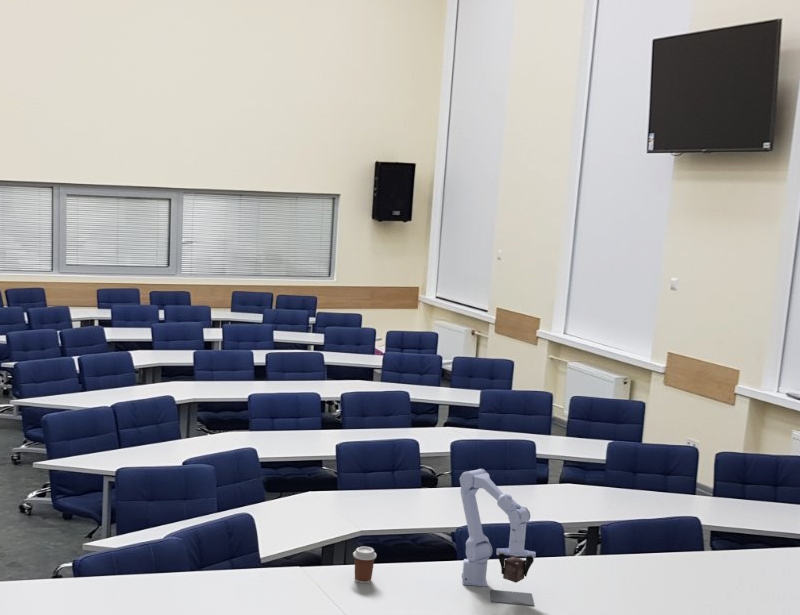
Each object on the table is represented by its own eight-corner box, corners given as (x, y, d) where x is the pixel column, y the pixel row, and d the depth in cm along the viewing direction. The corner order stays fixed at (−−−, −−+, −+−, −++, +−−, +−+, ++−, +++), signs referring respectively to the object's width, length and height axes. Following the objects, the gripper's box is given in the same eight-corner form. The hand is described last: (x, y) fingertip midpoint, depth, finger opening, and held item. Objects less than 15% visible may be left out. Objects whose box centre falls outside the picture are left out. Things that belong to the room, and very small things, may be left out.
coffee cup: (353, 584, 365) (356, 554, 364) (348, 575, 374) (351, 545, 373) (377, 584, 368) (379, 553, 367) (371, 574, 377) (373, 545, 375)
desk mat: (491, 602, 359) (491, 601, 359) (489, 590, 370) (489, 589, 370) (534, 606, 359) (534, 605, 359) (531, 594, 370) (531, 593, 370)
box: (510, 574, 368) (512, 555, 367) (524, 579, 364) (526, 560, 364) (502, 578, 363) (504, 559, 362) (516, 583, 359) (518, 564, 359)
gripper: (498, 541, 358) (495, 576, 360) (537, 545, 358) (534, 580, 359) (497, 535, 365) (494, 569, 367) (535, 538, 365) (532, 573, 366)
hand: (513, 574), depth 363 cm, fingers closed on box, 7 cm apart
